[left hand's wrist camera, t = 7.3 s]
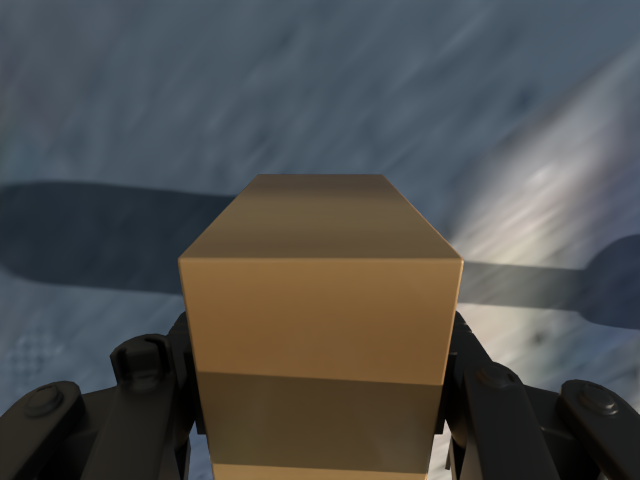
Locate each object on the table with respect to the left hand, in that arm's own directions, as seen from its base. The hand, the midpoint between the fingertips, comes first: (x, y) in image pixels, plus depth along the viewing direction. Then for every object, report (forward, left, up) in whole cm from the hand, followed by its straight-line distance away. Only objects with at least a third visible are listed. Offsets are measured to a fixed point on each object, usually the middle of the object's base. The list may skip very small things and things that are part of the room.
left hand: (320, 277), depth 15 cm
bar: (+5, +5, -1) cm, 8 cm away
